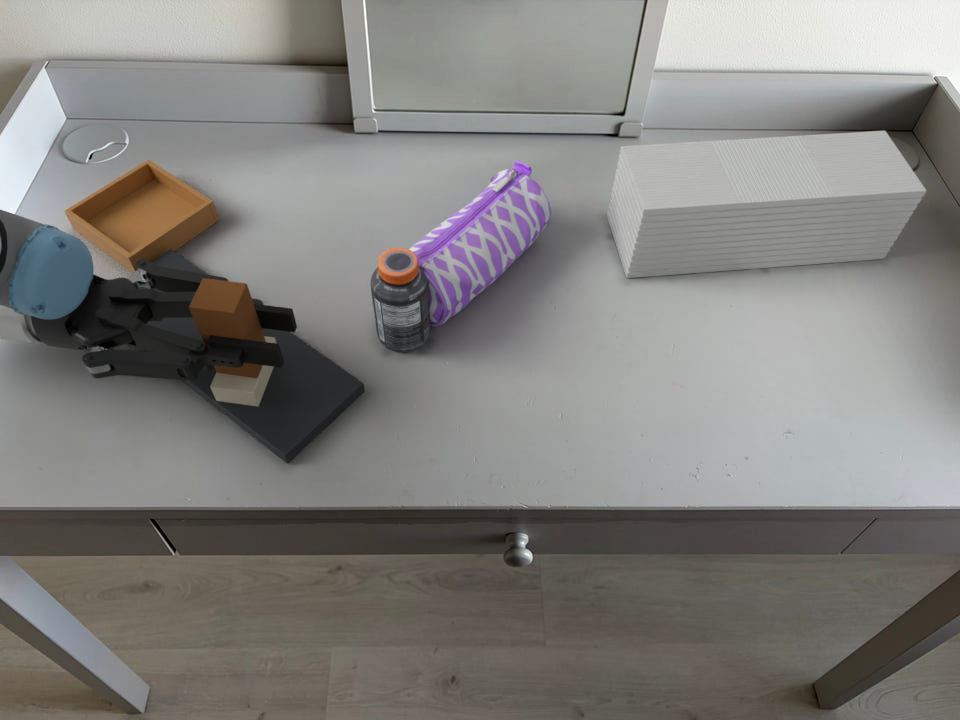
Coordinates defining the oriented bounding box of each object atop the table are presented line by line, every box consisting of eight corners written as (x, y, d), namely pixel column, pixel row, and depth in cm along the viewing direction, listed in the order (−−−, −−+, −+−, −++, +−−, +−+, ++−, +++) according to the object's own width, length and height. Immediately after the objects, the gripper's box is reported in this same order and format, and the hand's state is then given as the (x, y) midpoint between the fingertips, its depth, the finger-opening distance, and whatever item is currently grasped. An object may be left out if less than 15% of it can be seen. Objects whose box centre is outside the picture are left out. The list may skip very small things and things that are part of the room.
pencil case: (493, 204, 99) (497, 142, 91) (556, 235, 95) (564, 173, 88) (382, 311, 87) (375, 250, 80) (449, 349, 84) (448, 290, 77)
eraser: (258, 406, 78) (228, 327, 68) (216, 401, 78) (179, 321, 68) (279, 352, 82) (254, 269, 72) (239, 346, 82) (208, 264, 72)
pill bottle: (398, 304, 88) (391, 230, 79) (441, 326, 86) (440, 254, 77) (365, 338, 85) (355, 265, 76) (410, 362, 83) (405, 290, 74)
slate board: (287, 464, 76) (284, 456, 74) (95, 313, 86) (89, 304, 85) (365, 391, 81) (363, 382, 80) (174, 258, 92) (170, 248, 90)
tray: (137, 276, 90) (128, 258, 87) (74, 230, 94) (63, 210, 92) (219, 220, 96) (213, 201, 93) (156, 178, 100) (148, 159, 98)
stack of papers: (848, 199, 101) (885, 130, 92) (883, 259, 94) (926, 190, 86) (606, 216, 98) (621, 145, 89) (626, 278, 91) (643, 209, 83)
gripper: (103, 271, 83) (316, 298, 82) (26, 399, 73) (267, 433, 72) (75, 219, 77) (305, 247, 76) (-12, 351, 67) (250, 386, 66)
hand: (286, 337), depth 74 cm, fingers closed on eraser, 4 cm apart
